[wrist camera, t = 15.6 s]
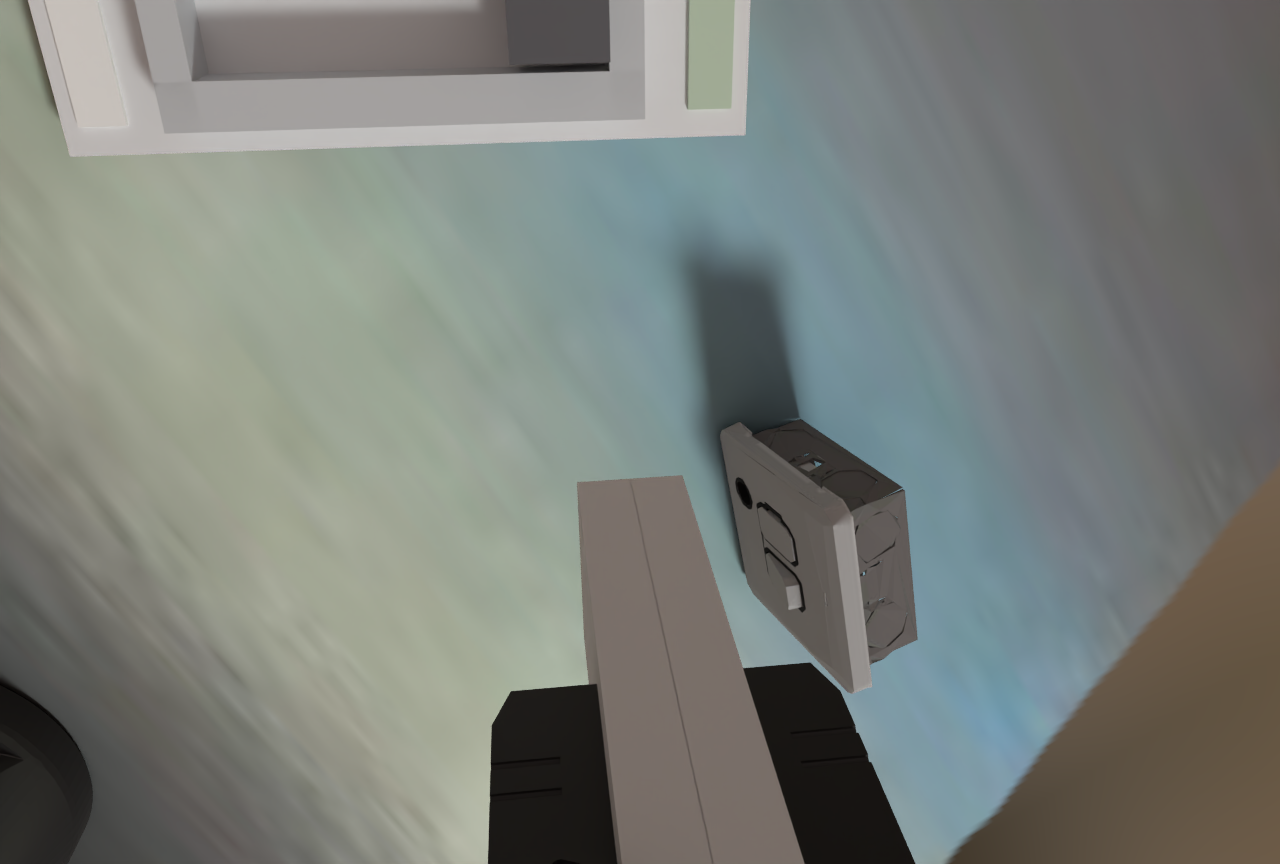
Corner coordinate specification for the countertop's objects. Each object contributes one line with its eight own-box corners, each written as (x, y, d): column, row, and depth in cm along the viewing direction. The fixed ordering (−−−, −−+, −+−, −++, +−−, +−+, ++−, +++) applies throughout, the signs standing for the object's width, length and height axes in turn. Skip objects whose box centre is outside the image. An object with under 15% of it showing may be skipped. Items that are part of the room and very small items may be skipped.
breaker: (510, 54, 34) (510, 75, 29) (504, -41, 33) (502, -37, 27) (596, 52, 34) (611, 72, 29) (593, -42, 33) (608, -38, 28)
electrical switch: (714, 420, 43) (786, 527, 35) (823, 389, 44) (919, 487, 36) (745, 585, 48) (815, 714, 40) (843, 555, 48) (933, 677, 40)
